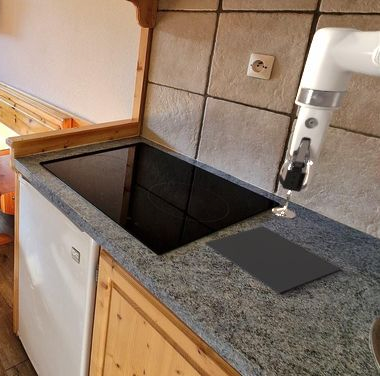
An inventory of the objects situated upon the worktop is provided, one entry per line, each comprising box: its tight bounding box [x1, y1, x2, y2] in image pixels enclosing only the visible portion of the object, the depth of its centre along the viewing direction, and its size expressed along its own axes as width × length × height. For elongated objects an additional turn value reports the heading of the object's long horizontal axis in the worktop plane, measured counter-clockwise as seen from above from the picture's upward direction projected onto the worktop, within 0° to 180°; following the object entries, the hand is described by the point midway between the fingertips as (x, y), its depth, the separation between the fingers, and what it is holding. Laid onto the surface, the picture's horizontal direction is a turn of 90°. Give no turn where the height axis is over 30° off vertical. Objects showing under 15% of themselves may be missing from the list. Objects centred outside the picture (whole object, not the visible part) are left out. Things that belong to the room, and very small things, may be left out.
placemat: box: [204, 225, 342, 295], centre depth 93 cm, size 20×20×1 cm
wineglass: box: [272, 156, 314, 219], centre depth 85 cm, size 6×6×12 cm
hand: (293, 183), depth 84 cm, fingers closed on wineglass, 5 cm apart
